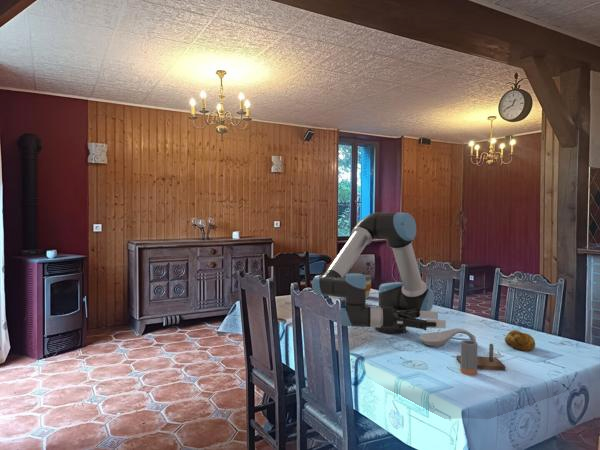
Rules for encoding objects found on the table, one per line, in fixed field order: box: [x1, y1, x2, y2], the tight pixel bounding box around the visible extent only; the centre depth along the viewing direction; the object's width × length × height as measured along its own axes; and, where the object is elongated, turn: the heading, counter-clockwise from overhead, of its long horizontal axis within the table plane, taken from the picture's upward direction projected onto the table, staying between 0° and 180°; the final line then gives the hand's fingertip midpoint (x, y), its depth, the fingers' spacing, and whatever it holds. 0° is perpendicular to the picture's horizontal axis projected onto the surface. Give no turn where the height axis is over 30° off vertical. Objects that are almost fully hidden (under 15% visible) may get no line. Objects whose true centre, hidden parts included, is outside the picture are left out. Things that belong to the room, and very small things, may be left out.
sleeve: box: [459, 339, 478, 376], centre depth 154 cm, size 5×5×11 cm
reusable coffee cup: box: [362, 273, 373, 299], centre depth 291 cm, size 13×13×15 cm
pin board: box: [456, 343, 507, 371], centre depth 162 cm, size 15×10×8 cm, turn 83°
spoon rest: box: [419, 327, 477, 348], centre depth 186 cm, size 24×12×7 cm, turn 90°
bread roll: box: [504, 329, 536, 352], centre depth 183 cm, size 13×10×8 cm
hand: (441, 319), depth 154 cm, fingers open, 13 cm apart
